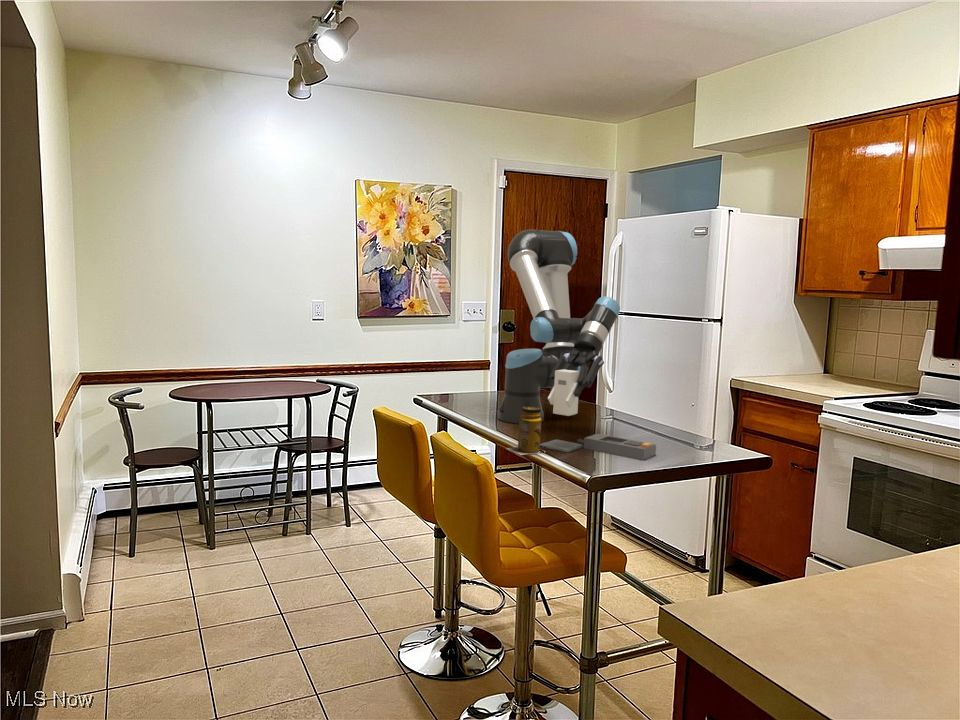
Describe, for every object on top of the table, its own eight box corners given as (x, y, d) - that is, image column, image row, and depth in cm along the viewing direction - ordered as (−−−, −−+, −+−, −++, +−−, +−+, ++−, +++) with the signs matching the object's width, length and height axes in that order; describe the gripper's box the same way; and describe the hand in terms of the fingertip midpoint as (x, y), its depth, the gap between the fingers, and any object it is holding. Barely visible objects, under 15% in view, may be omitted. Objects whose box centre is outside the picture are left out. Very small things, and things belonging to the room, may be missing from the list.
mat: (555, 441, 209) (555, 439, 209) (583, 446, 203) (583, 444, 203) (539, 446, 202) (539, 444, 201) (567, 452, 196) (567, 450, 196)
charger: (562, 411, 204) (564, 369, 202) (577, 413, 201) (579, 371, 199) (552, 413, 199) (554, 370, 198) (568, 415, 196) (570, 372, 195)
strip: (571, 445, 204) (572, 433, 204) (584, 441, 210) (585, 429, 210) (643, 460, 191) (644, 447, 191) (655, 454, 198) (656, 442, 197)
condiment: (546, 452, 195) (548, 409, 194) (521, 455, 191) (523, 411, 189) (529, 446, 201) (532, 404, 200) (505, 449, 197) (507, 406, 195)
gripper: (622, 351, 205) (592, 415, 194) (567, 346, 216) (536, 406, 205) (615, 334, 200) (584, 398, 189) (559, 329, 211) (526, 390, 200)
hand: (559, 402), depth 197 cm, fingers closed on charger, 5 cm apart
